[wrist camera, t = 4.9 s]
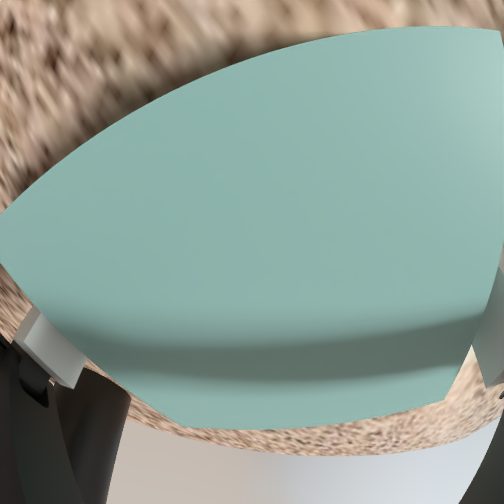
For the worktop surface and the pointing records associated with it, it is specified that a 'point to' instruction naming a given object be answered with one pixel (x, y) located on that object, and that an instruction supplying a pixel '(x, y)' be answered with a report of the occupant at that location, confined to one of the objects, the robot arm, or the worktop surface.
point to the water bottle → (92, 430)
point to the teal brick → (282, 232)
